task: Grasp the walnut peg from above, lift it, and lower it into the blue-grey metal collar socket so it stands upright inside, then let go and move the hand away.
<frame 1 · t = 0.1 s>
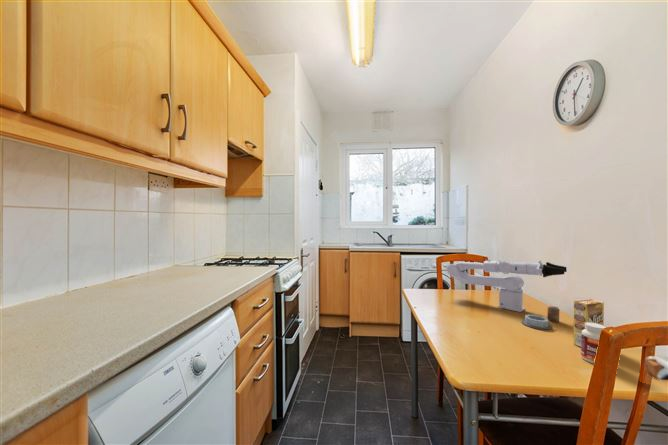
hand: (565, 270, 119), 22 cm above the table, fingers open, 7 cm apart
pill bottle: (594, 361, 83), on the table
candy box: (588, 345, 94), on the table
collar socket: (536, 325, 111), on the table
walnut peg: (553, 320, 117), on the table
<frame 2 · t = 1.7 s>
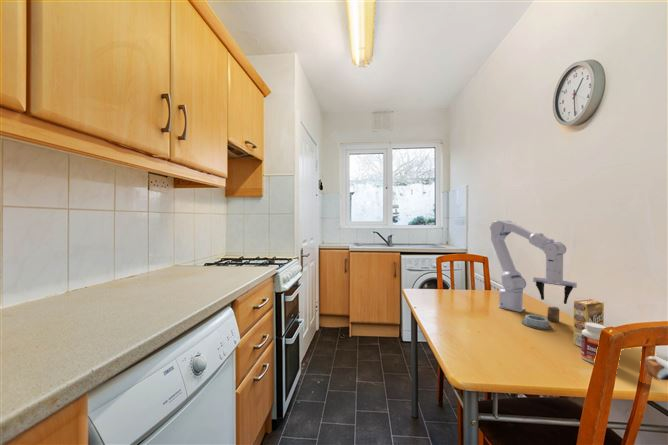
hand: (553, 301, 117), 8 cm above the table, fingers open, 7 cm apart
nothing on the table moved.
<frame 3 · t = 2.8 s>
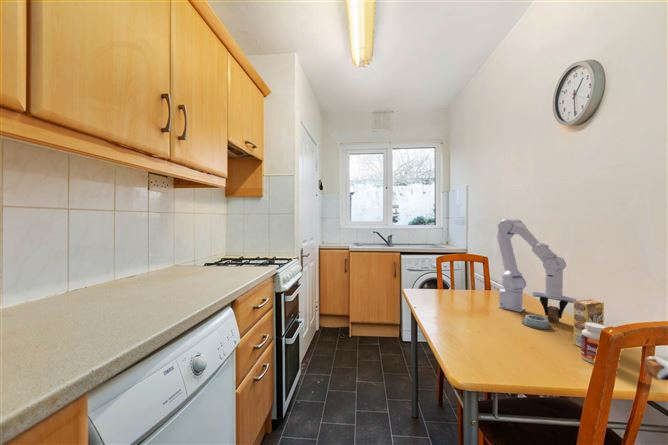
hand: (553, 316, 117), 2 cm above the table, fingers closed on walnut peg, 4 cm apart
walnut peg: (553, 320, 117), on the table, touching gripper
everything else where it was.
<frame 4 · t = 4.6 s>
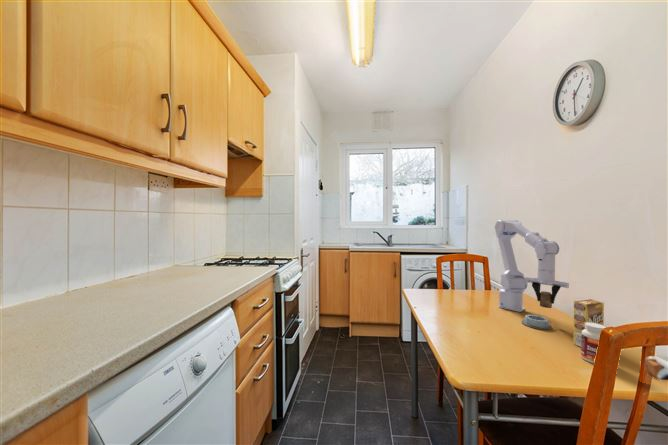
hand: (545, 301, 114), 9 cm above the table, fingers closed on walnut peg, 4 cm apart
walnut peg: (545, 306, 114), point 7 cm above the table, touching gripper
everything else where it was.
when the fingers open (4 cm above the table, at t = 6.3 s): walnut peg drops 1 cm, resting on collar socket.
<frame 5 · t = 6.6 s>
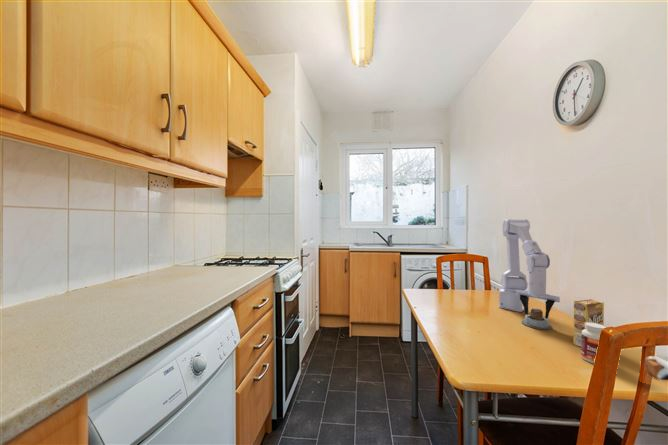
hand: (536, 315, 111), 4 cm above the table, fingers open, 6 cm apart
walnut peg: (536, 323, 112), point 1 cm above the table, touching collar socket
everything else where it was.
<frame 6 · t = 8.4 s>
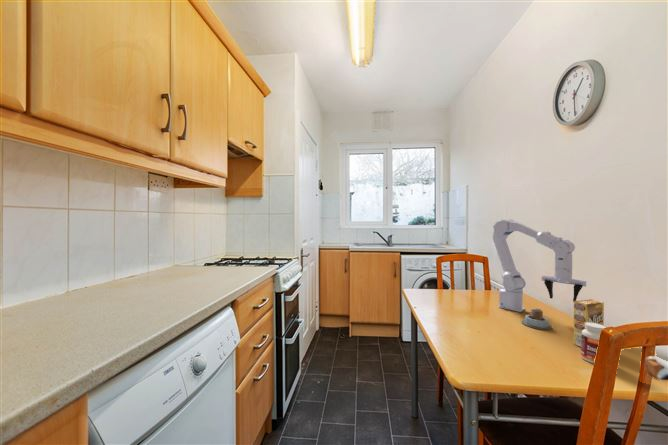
hand: (562, 300, 116), 9 cm above the table, fingers open, 7 cm apart
nothing on the table moved.
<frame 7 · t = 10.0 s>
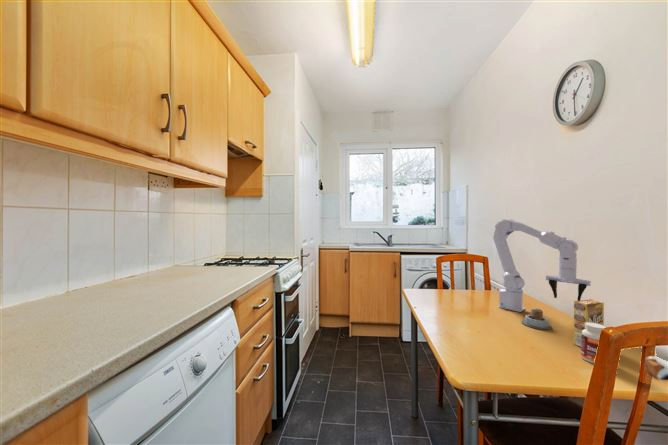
hand: (566, 299, 117), 9 cm above the table, fingers open, 7 cm apart
nothing on the table moved.
at the end: walnut peg 0.1 cm off-centre on the collar socket, point 0.5 cm above the collar socket's base; walnut peg tilted 0°; the gripper is holding nothing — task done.
